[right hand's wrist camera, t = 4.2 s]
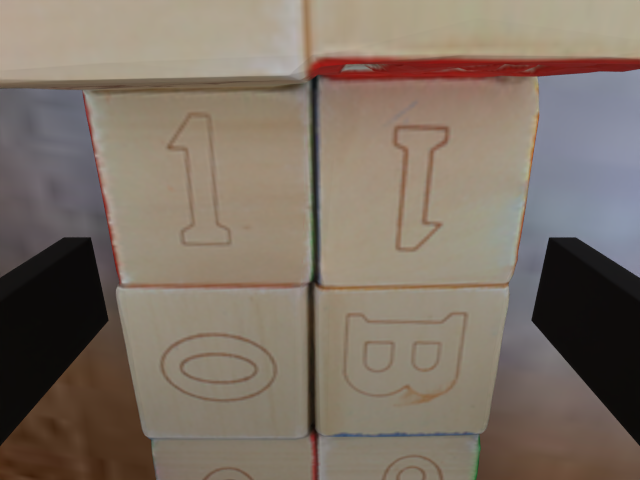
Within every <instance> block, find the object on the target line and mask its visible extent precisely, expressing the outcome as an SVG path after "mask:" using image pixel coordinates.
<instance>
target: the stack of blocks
mask: <svg viewBox="0 0 640 480" xmlns="http://www.w3.org/2000/svg"><path fill="white" fill-rule="evenodd" d="M636 69H640V0H0V88H32V89H59V90H82V91H83V98H84V104H85V110H86V116H87V120H88V125H89V130H90V135H91V140H92V146H93V151H94V156H95V161H96V166H97V171H98V177H99V182H100V187H101V192H102V197H103V202H104V207H105V212H106V218H107V223H108V228H109V234H110V239H111V244H112V250H113V255H114V260H115V265H116V270H117V274H118V277H119V281H120V282H119V284H118V286H117V289H116V298H117V304H118V309H119V314H120V319H121V324H122V329H123V335H124V340H125V345H126V350H127V355H128V360H129V366H130V371H131V376H132V381H133V386H134V391H135V396H136V401H137V406H138V411H139V416H140V421H141V426H142V431H143V433H144V434H145V436H147V437H148V438H149V439H151V442H152V456H153V463H154V468H155V474H156V480H476V478H477V472H478V464H479V454H480V449H481V447H480V436H479V434H481V433H483V432H484V431H485V430H486V428H487V425H488V421H489V415H490V408H491V401H492V396H493V390H494V385H495V380H496V374H497V368H498V361H499V355H500V348H501V342H502V335H503V329H504V324H505V319H506V314H507V309H508V302H509V286H508V283H509V281H510V279H511V278H512V276H513V273H514V270H515V266H516V263H517V260H518V249H519V244H520V238H521V233H522V227H523V221H524V214H525V208H526V201H527V194H528V186H529V179H530V172H531V166H532V159H533V152H534V146H535V139H536V133H537V127H538V120H539V86H538V79H537V76H550V75H564V74H577V73H590V72H598V71H613V72H624V71H630V70H636Z"/></svg>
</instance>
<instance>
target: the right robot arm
mask: <svg viewBox="0 0 640 480" xmlns="http://www.w3.org/2000/svg"><path fill="white" fill-rule="evenodd" d="M107 322H108V315H107V311H106V306H105V301H104V297H103V292H102V287H101V283H100V278H99V273H98V269H97V264H96V259H95V255H94V250H93V245H92V241H91V238H63V239H61V240H59V241H58V242H56V243H55V244H53V245H51V246H50V247H48V248H47V249H45V250H44V251H42V252H40V253H39V254H37V255H36V256H34V257H33V258H31V259H29V260H28V261H26V262H25V263H23V264H21V265H20V266H18V267H17V268H15V269H14V270H12V271H10V272H9V273H7V274H6V275H4V276H3V277H1V278H0V446H1V444H2V443H3V442H4V441H5V440H6V439H7V437H8V436H9V435H10V434H11V433H12V432H13V430H14V429H15V428H16V427H17V426H18V425H19V424H20V422H21V421H22V420H23V419H24V418H25V417H26V415H27V414H28V413H29V412H30V411H31V410H32V408H33V407H34V406H35V405H36V404H37V403H38V402H39V400H40V399H41V398H42V397H43V396H44V395H45V393H46V392H47V391H48V390H49V389H50V388H51V386H52V385H53V384H54V383H55V382H56V381H57V380H58V378H59V377H60V376H61V375H62V374H63V373H64V371H65V370H66V369H67V368H68V367H69V366H70V364H71V363H72V362H73V361H74V360H75V359H76V358H77V356H78V355H79V354H80V353H81V352H82V351H83V349H84V348H85V347H86V346H87V345H88V344H89V342H90V341H91V340H92V339H93V338H94V337H95V336H96V334H97V333H98V332H99V331H100V330H101V329H102V327H103V326H104V325H105V324H106V323H107ZM532 322H533V323H534V324H535V325H536V326H537V327H538V329H539V330H540V331H541V332H542V333H543V334H544V336H545V337H546V338H547V339H548V340H549V341H550V342H551V344H552V345H553V346H554V347H555V348H556V349H557V351H558V352H559V353H560V354H561V355H562V356H563V358H564V359H565V360H566V361H567V362H568V363H569V364H570V366H571V367H572V368H573V369H574V370H575V371H576V373H577V374H578V375H579V376H580V377H581V378H582V380H583V381H584V382H585V383H586V384H587V385H588V386H589V388H590V389H591V390H592V391H593V392H594V393H595V395H596V396H597V397H598V398H599V399H600V400H601V402H602V403H603V404H604V405H605V406H606V407H607V408H608V410H609V411H610V412H611V413H612V414H613V415H614V417H615V418H616V419H617V420H618V421H619V422H620V424H621V425H622V426H623V427H624V428H625V429H626V430H627V432H628V433H629V434H630V435H631V436H632V437H633V439H634V440H635V441H636V442H637V443H638V444H639V446H640V278H639V277H637V276H636V275H634V274H633V273H631V272H630V271H628V270H626V269H625V268H623V267H622V266H620V265H619V264H617V263H615V262H614V261H612V260H611V259H609V258H607V257H606V256H604V255H603V254H601V253H600V252H598V251H596V250H595V249H593V248H592V247H590V246H589V245H587V244H585V243H584V242H582V241H581V240H579V239H577V238H549V241H548V245H547V250H546V255H545V259H544V264H543V269H542V273H541V278H540V283H539V287H538V292H537V297H536V301H535V306H534V311H533V315H532Z"/></svg>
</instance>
